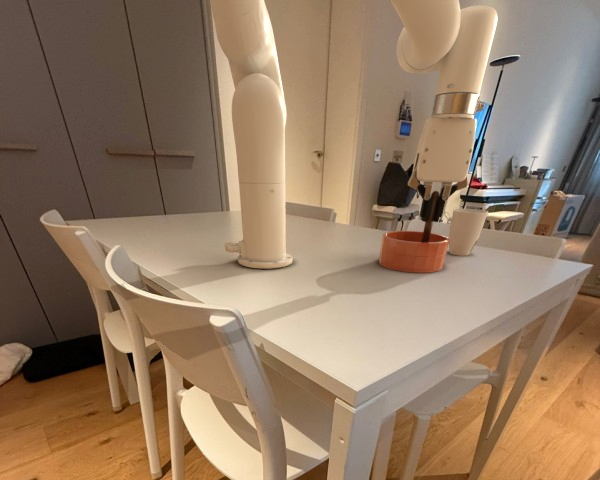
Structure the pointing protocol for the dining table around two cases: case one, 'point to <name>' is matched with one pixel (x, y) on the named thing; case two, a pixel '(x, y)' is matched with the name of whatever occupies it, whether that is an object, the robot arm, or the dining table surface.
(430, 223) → the brown peg stand
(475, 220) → the cup
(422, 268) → the bowl
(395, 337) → the dining table surface
